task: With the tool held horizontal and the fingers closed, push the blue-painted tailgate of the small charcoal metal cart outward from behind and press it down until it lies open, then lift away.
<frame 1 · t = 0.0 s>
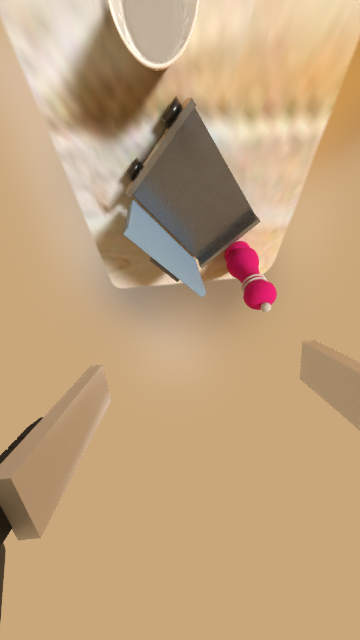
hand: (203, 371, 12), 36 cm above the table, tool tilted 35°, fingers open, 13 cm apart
white cup: (153, 21, 21), on the table
tailgate: (167, 252, 32), point 10 cm above the table, hinge at -3.0°
cart bed: (193, 196, 35), on the table
pepper mill: (236, 252, 45), on the table
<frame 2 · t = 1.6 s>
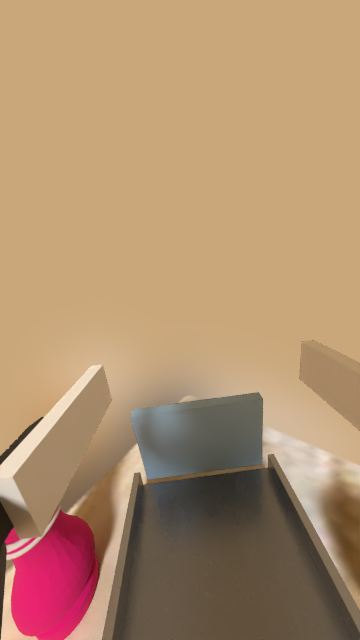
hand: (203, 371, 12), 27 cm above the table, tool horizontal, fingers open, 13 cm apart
tailgate: (199, 435, 25), point 10 cm above the table, hinge at -3.0°
cart bed: (219, 570, 20), on the table
pepper mill: (70, 591, 20), on the table
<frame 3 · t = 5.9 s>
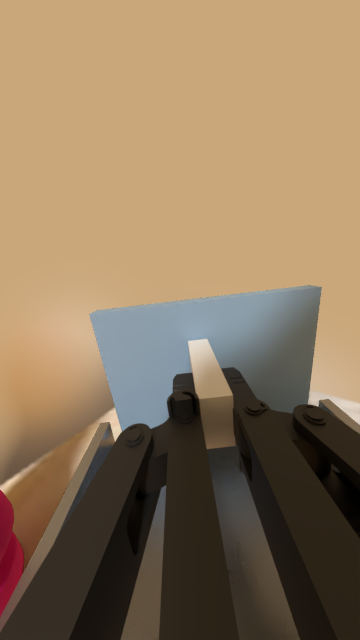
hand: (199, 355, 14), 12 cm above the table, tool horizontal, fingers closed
tailgate: (207, 364, 16), point 10 cm above the table, hinge at -2.1°, touching gripper
cart bed: (243, 593, 10), on the table
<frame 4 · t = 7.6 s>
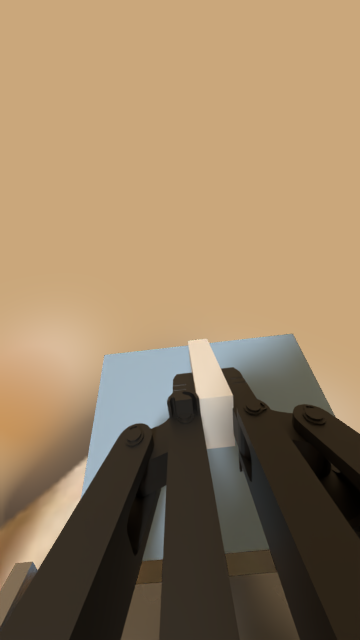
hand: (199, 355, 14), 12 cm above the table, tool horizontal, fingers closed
tailgate: (208, 422, 13), point 7 cm above the table, hinge at 49.1°, touching gripper
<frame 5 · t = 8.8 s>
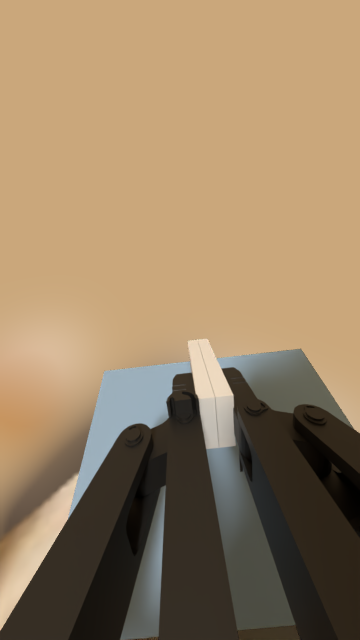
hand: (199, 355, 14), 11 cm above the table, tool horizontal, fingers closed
tailgate: (215, 446, 12), point 6 cm above the table, hinge at 59.2°, touching gripper
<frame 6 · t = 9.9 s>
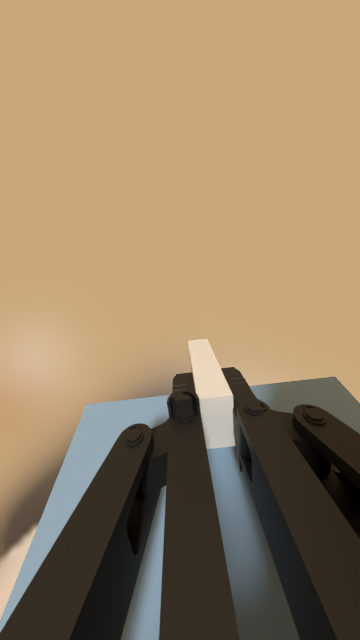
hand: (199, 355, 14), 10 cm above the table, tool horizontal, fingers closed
tailgate: (235, 528, 8), point 5 cm above the table, hinge at 70.2°
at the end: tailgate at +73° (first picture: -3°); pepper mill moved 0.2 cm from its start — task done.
